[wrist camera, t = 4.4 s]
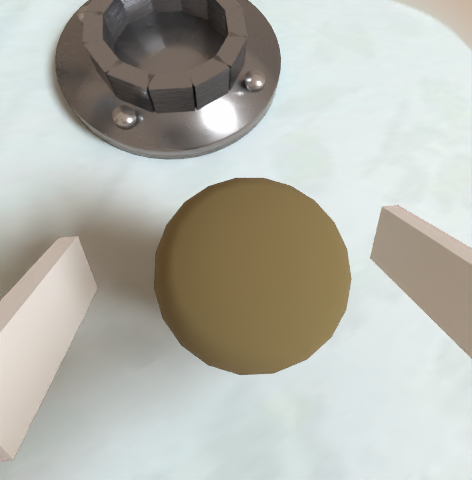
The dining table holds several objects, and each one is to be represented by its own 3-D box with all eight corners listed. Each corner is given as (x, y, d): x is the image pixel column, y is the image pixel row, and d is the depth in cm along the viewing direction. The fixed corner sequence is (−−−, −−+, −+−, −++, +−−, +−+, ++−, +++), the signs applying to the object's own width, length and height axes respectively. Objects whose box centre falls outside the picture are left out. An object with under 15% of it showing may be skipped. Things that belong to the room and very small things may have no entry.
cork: (252, 231, 18) (301, 103, 7) (302, 316, 16) (452, 315, 6) (167, 275, 17) (73, 203, 6) (213, 370, 15) (196, 489, 5)
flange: (19, 107, 19) (-19, 67, 16) (131, -32, 24) (118, -84, 20) (228, 193, 18) (230, 169, 15) (305, 32, 23) (318, -13, 20)
